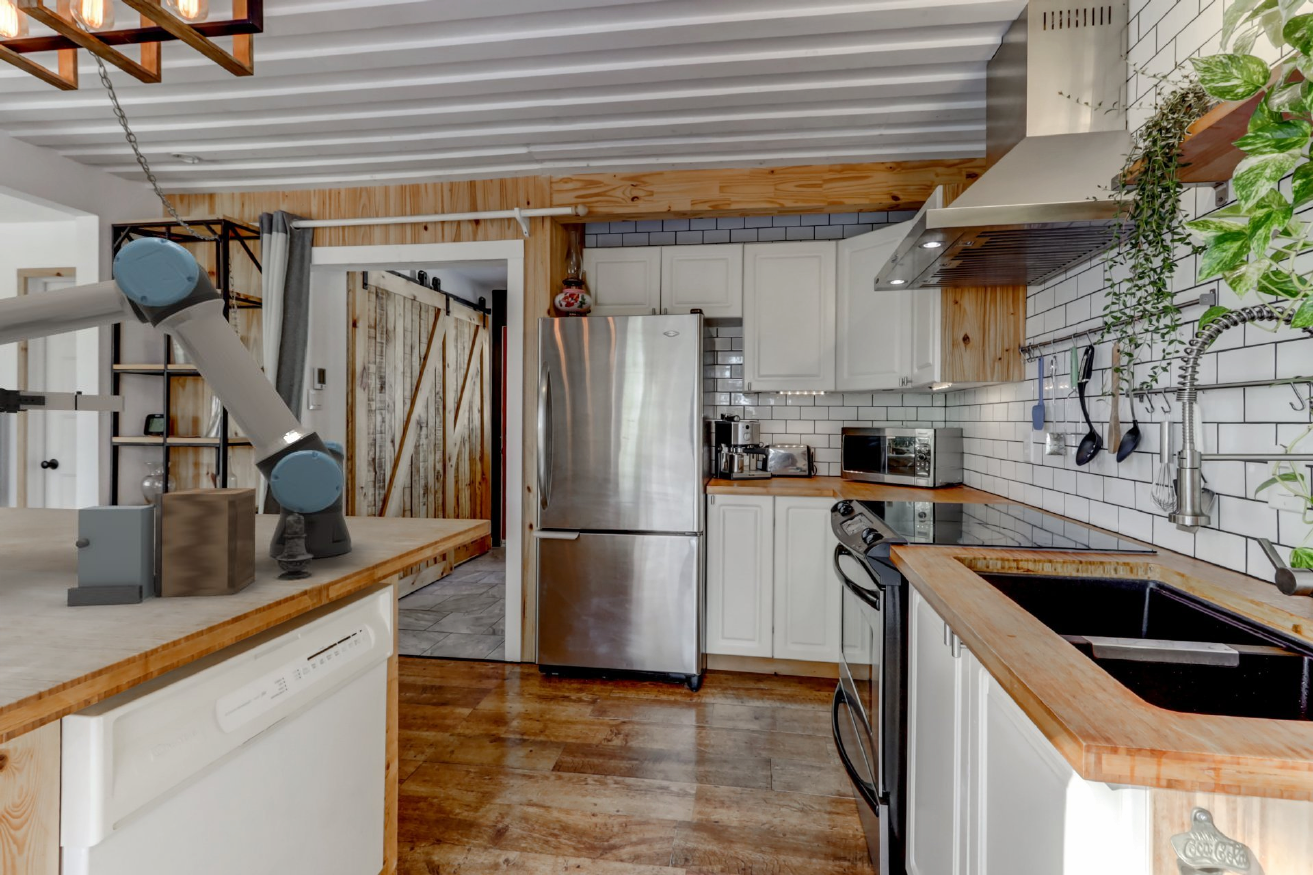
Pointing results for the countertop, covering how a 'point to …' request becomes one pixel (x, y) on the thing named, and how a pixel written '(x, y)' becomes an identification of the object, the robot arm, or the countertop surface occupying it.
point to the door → (116, 547)
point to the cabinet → (204, 541)
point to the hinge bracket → (105, 595)
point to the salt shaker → (294, 550)
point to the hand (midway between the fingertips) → (100, 402)
